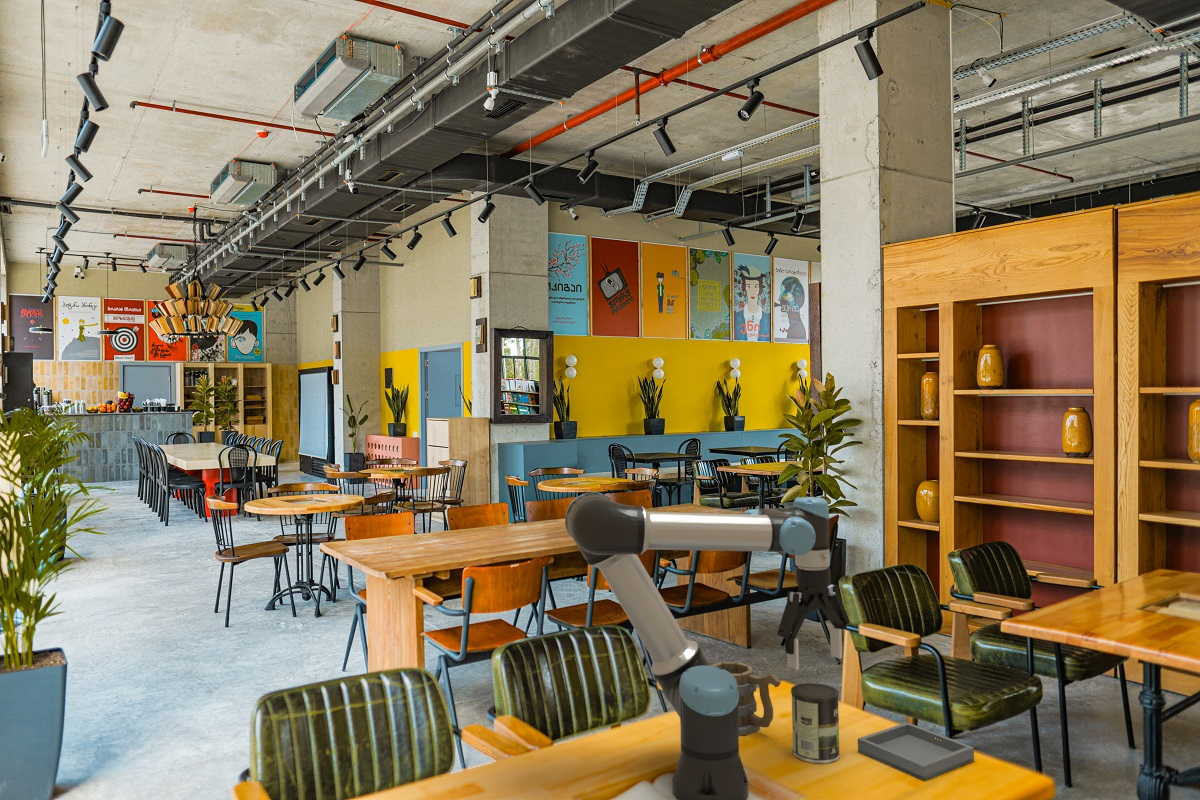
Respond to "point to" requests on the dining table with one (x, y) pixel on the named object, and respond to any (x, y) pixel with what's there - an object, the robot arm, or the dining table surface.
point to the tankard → (750, 696)
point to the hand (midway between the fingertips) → (815, 662)
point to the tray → (916, 750)
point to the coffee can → (815, 723)
